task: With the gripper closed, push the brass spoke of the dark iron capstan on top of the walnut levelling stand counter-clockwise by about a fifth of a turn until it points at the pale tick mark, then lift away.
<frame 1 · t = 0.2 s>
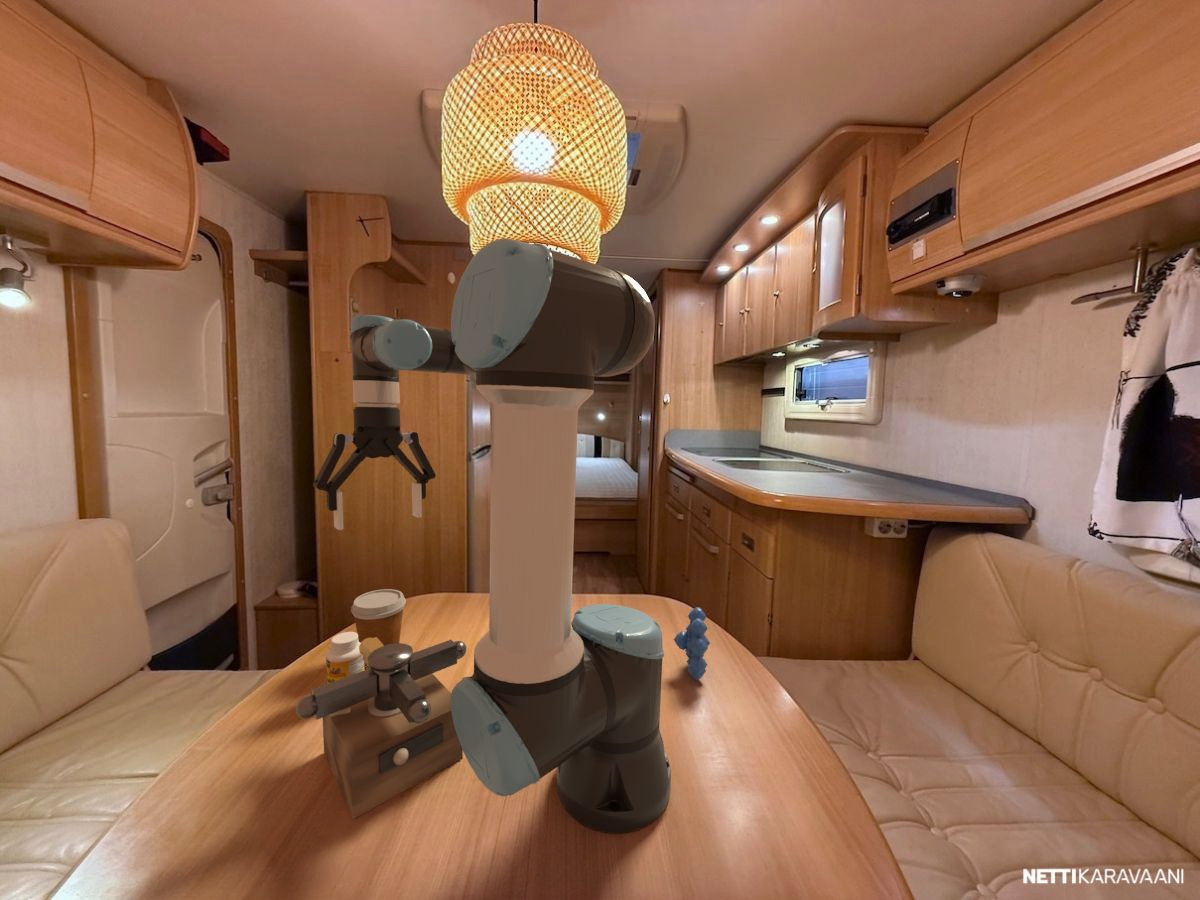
hand: (380, 522, 83), 28 cm above the table, tool pointing down, fingers open, 13 cm apart
grapes: (690, 671, 86), on the table
supplement bottle: (346, 695, 77), on the table
disposable coffee cup: (380, 658, 88), on the table
capstan: (391, 677, 63), point 12 cm above the table, hinge at 0.0°
stand: (393, 755, 64), on the table
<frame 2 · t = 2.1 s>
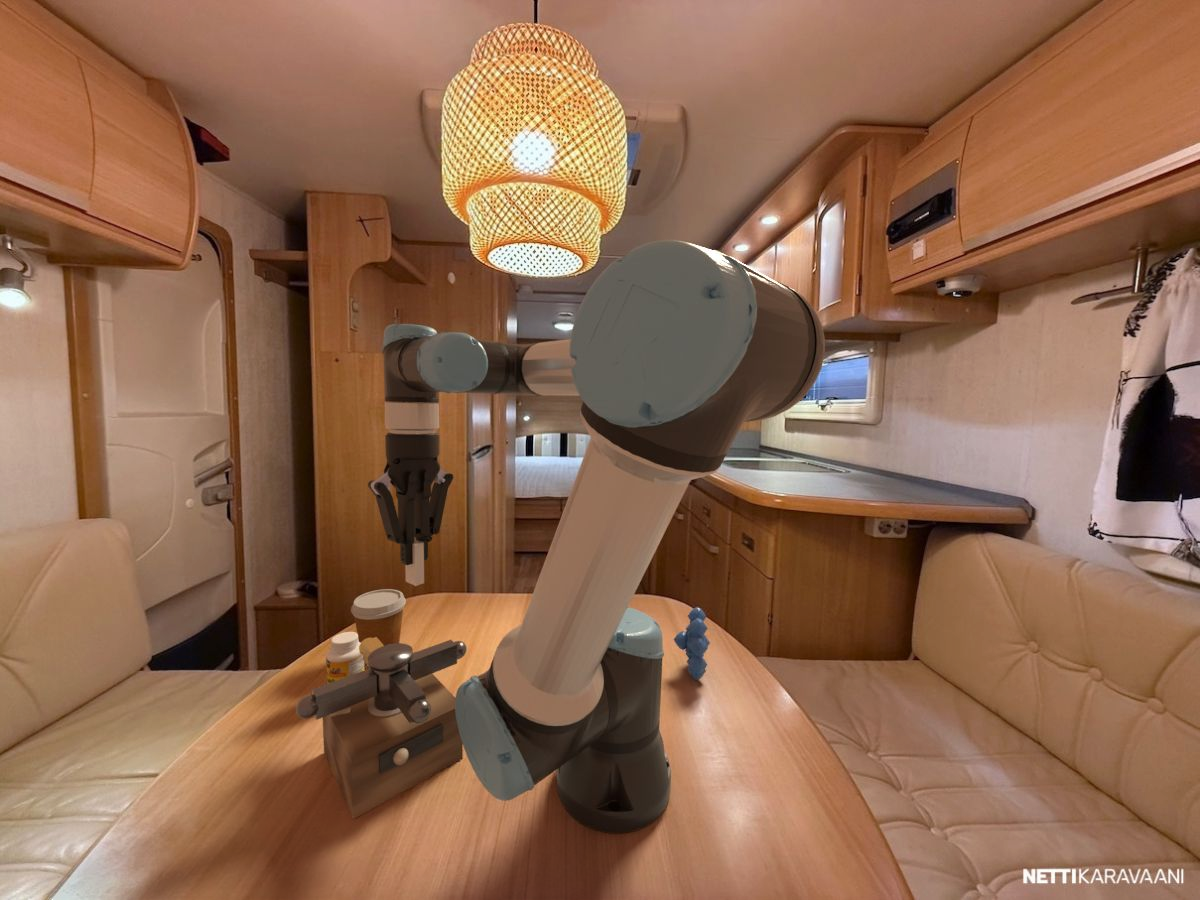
hand: (414, 582, 70), 22 cm above the table, tool pointing down, fingers closed
nothing on the table moved.
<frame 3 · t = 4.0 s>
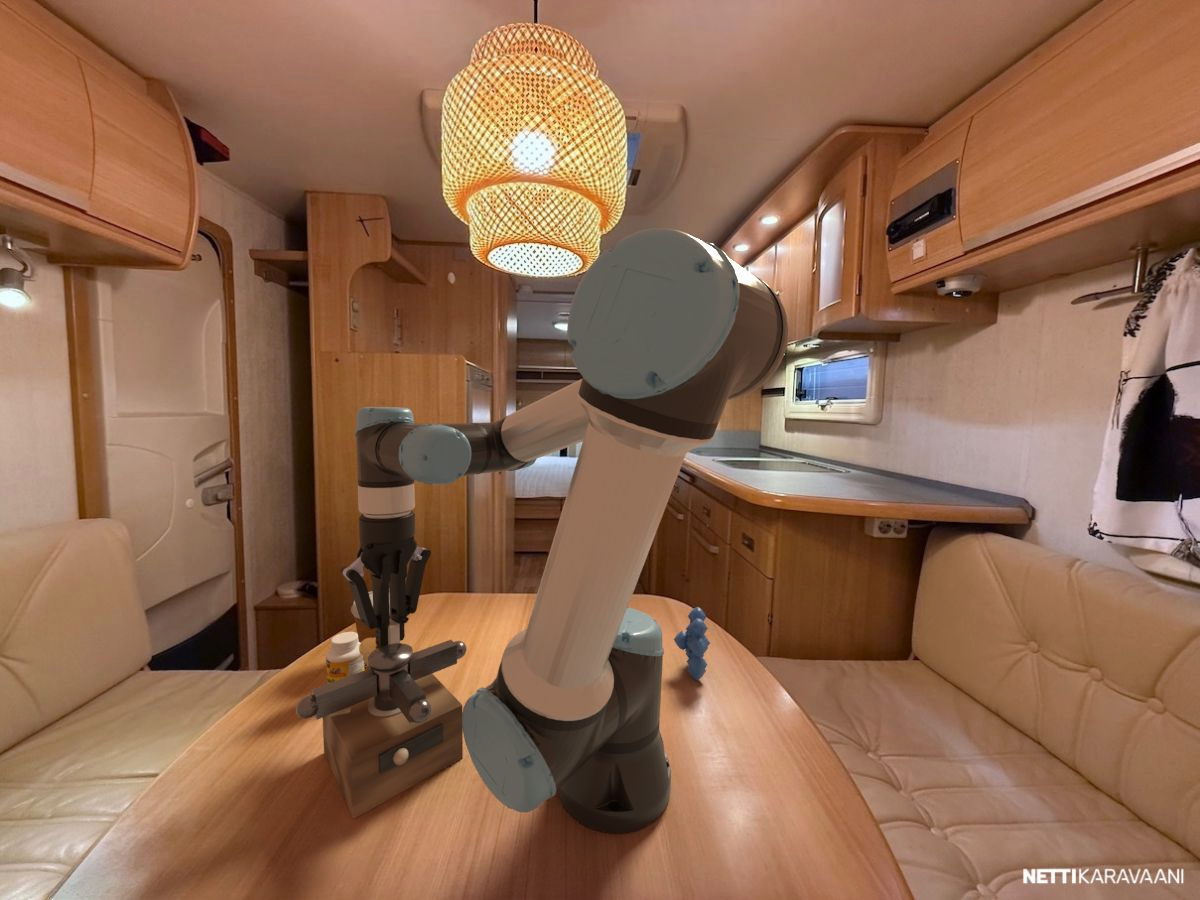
hand: (390, 663, 69), 10 cm above the table, tool pointing down, fingers closed
capstan: (391, 677, 63), point 12 cm above the table, hinge at 0.1°, touching gripper
everything else where it was.
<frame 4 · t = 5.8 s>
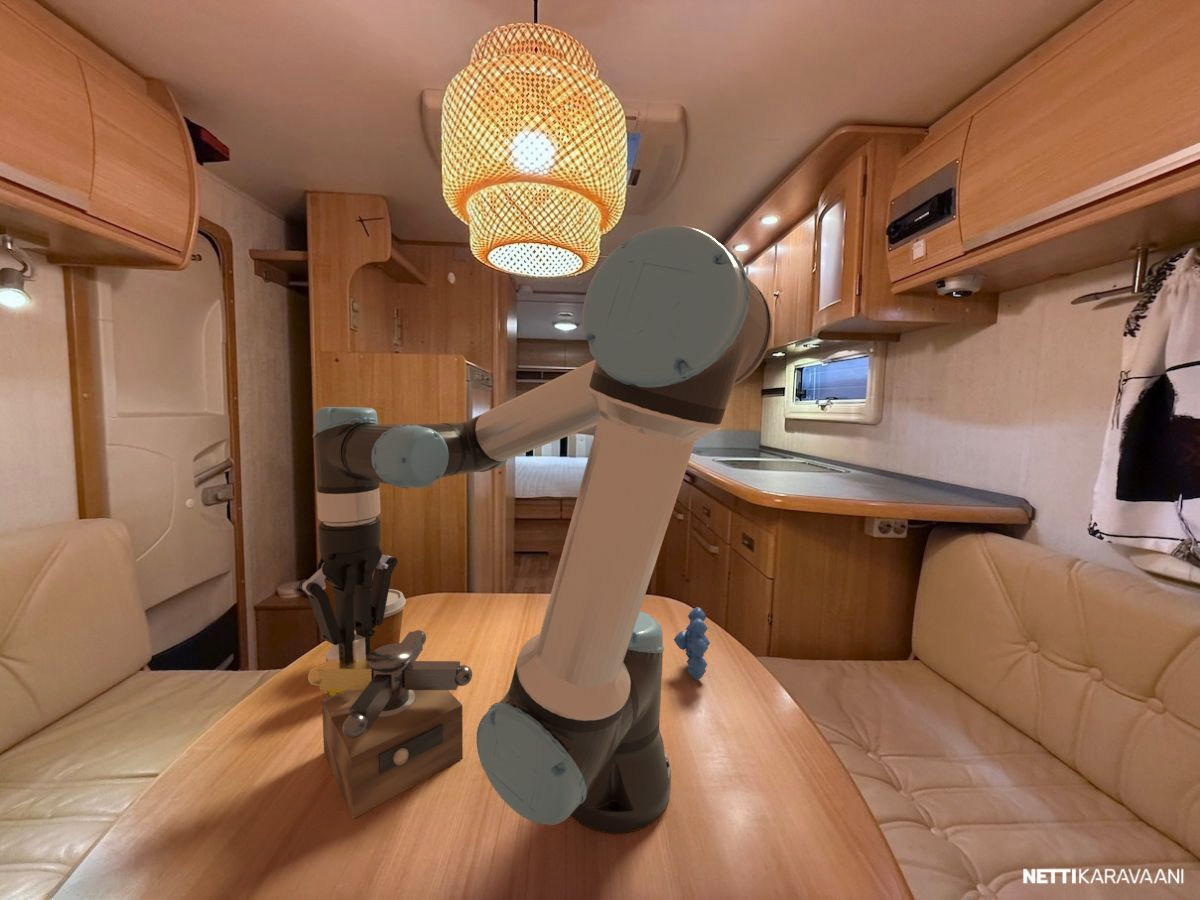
hand: (356, 680, 65), 10 cm above the table, tool pointing down, fingers closed
capstan: (391, 677, 63), point 12 cm above the table, hinge at 48.1°, touching gripper
everything else where it was.
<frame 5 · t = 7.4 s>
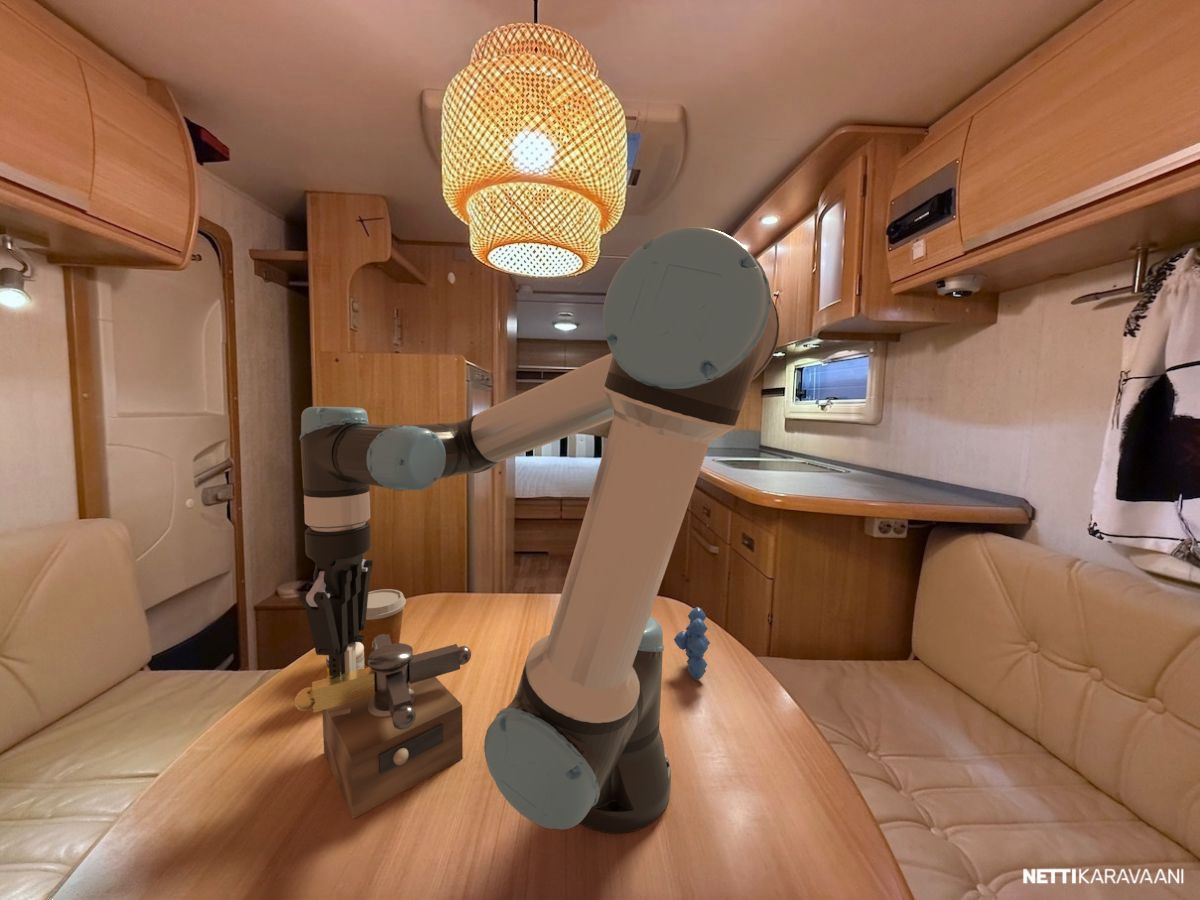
hand: (343, 691, 62), 10 cm above the table, tool pointing down, fingers closed
capstan: (391, 677, 63), point 12 cm above the table, hinge at 79.3°, touching gripper
everything else where it was.
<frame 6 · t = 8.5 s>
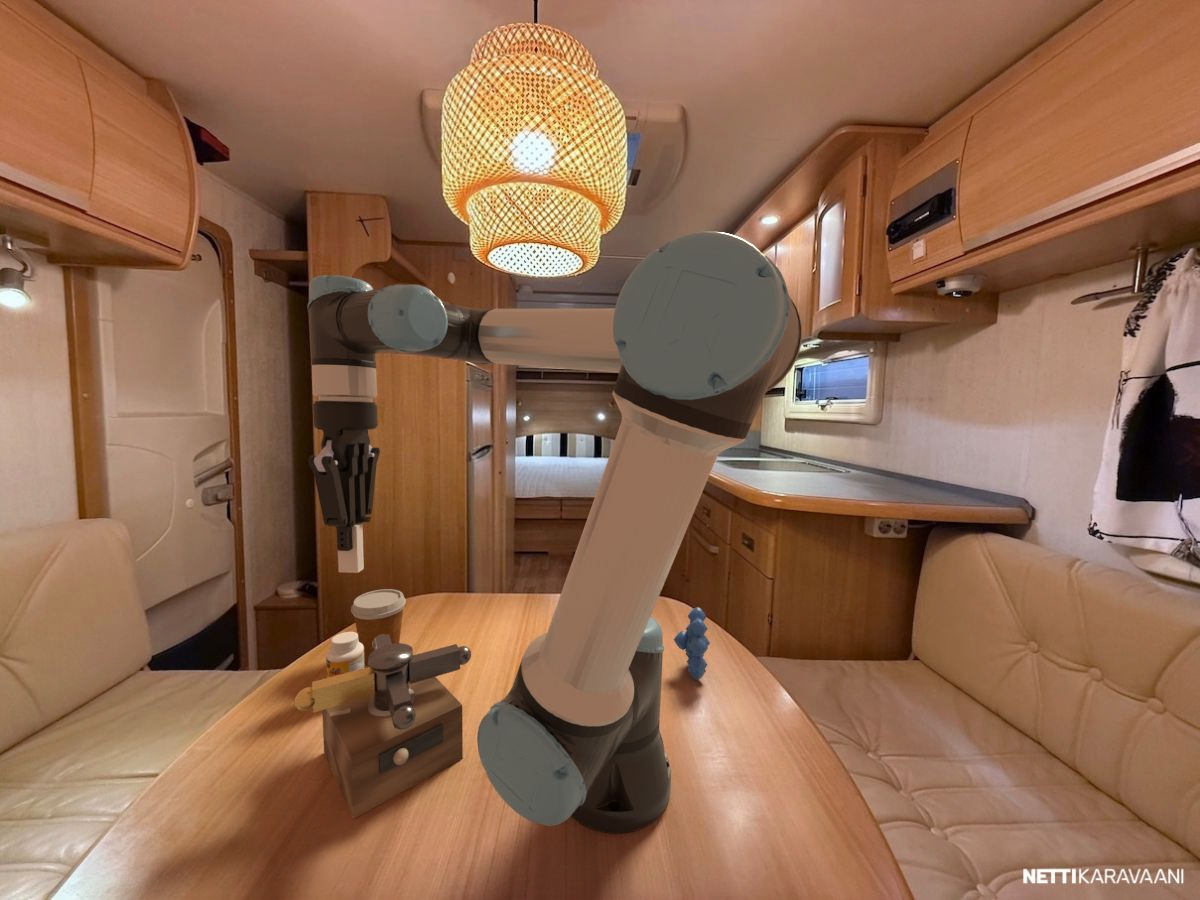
hand: (351, 570, 63), 26 cm above the table, tool pointing down, fingers closed
capstan: (391, 677, 63), point 12 cm above the table, hinge at 79.2°
everything else where it was.
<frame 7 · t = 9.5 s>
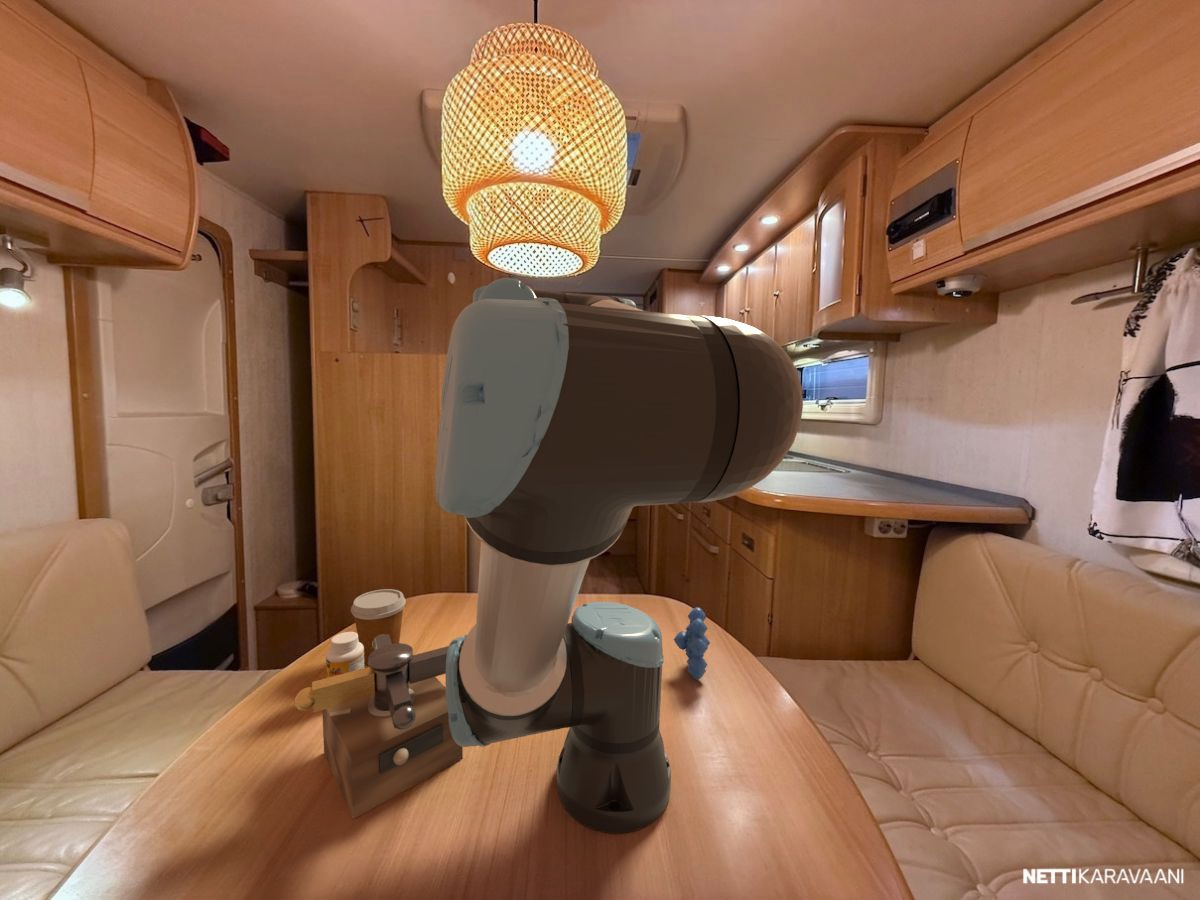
hand: (497, 538, 73), 28 cm above the table, tool pointing down, fingers closed
nothing on the table moved.
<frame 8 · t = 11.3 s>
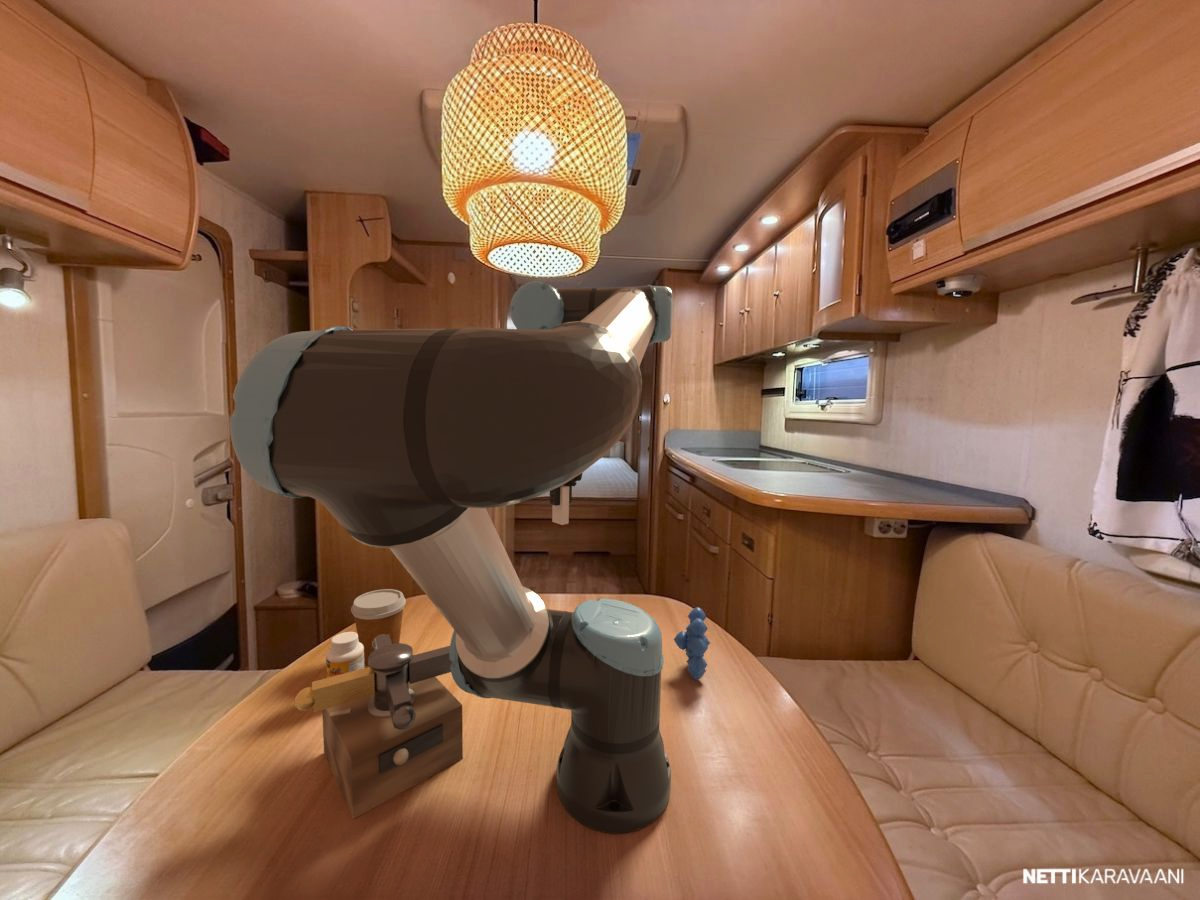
hand: (560, 522, 79), 29 cm above the table, tool pointing down, fingers closed
nothing on the table moved.
at the end: capstan at +79° (first picture: +0°); capstan touching nothing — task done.
